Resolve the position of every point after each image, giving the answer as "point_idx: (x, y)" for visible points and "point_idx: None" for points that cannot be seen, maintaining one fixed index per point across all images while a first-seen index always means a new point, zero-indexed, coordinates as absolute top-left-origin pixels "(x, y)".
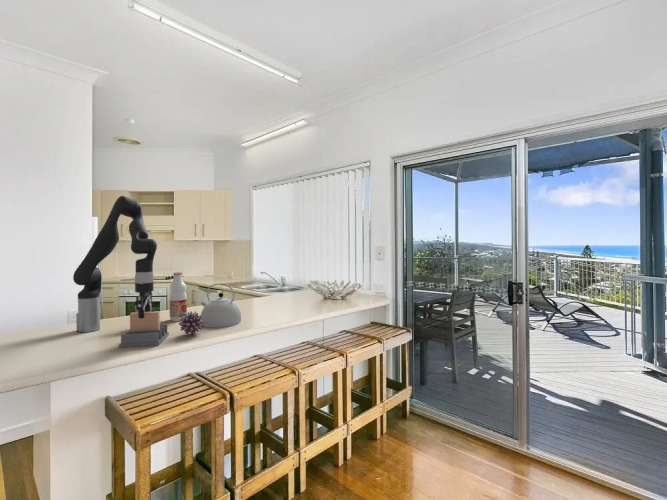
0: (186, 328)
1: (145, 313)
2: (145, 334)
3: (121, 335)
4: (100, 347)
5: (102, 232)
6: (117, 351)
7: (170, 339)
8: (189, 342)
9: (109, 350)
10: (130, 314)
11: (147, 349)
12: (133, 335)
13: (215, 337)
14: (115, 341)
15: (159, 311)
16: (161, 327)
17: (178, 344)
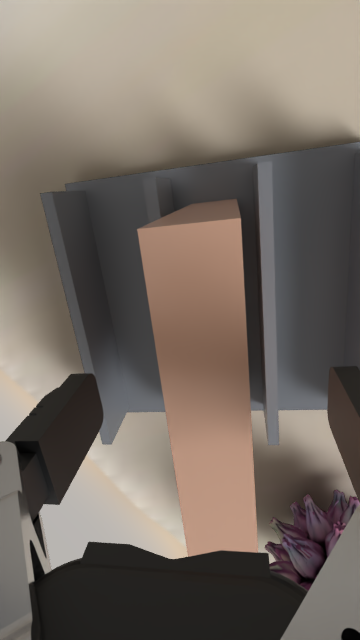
0: (281, 543)
1: (171, 438)
2: (87, 370)
3: (43, 198)
4: (82, 9)
5: None
6: (8, 212)
7: None
8: (166, 517)
9: (21, 143)
10: (142, 236)
11: (54, 366)
12: (70, 290)
13: None
14: (246, 41)
15: None
16: (267, 428)
17: (136, 480)
